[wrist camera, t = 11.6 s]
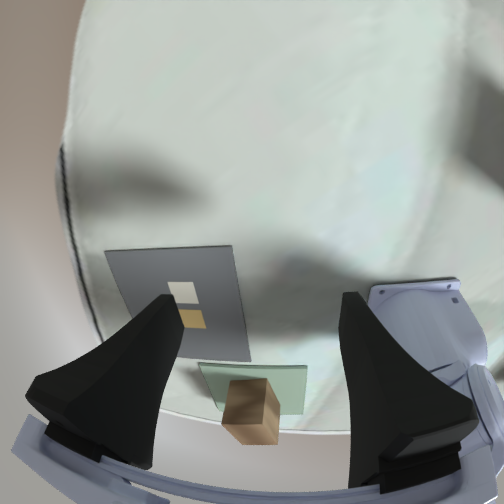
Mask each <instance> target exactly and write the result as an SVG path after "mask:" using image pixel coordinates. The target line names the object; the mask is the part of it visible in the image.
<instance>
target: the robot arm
mask: <svg viewBox="0 0 504 504" xmlns="http://www.w3.org/2000/svg"><path fill="white" fill-rule="evenodd" d="M460 285H461V282H460V280H459V279H453V280H442V281H430V282H418V283H404V284H389V285H376V286H373V287H372V288H371V290H370V294H369V299H368V304H367V303H366V302H365V301H364V299H363V298H362V296H361V295H360V294H359V293H358V292H343V298H342V306H341V313H340V320H339V327H338V329H339V341H340V350H341V355H342V360H343V366H344V371H345V376H346V381H347V387H348V392H349V400H350V420H351V451H350V471H349V483H348V489H342V490H332V491H318V492H262V491H248V490H237V489H229V488H221V487H215V486H209V485H203V484H197V483H192V482H188V481H183V480H179V479H174V478H170V477H166V476H163V475H159V474H155V473H152V472H149V471H145V470H148V469H150V468H151V467H152V460H153V446H154V438H155V430H156V424H157V419H158V413H159V408H160V404H161V400H162V396H163V392H164V389H165V386H166V383H167V380H168V378H169V375H170V372H171V370H172V367H173V365H174V362H175V359H176V357H177V354H178V351H179V349H180V345H181V341H182V337H183V333H184V328H185V327H184V324H183V321H182V318H181V316H180V313H179V310H178V307H177V304H176V301H175V299H174V296H173V294H160V295H159V296H158V297H157V298H156V299H154V300H153V301H152V302H151V303H150V304H149V305H148V306H146V307H145V308H144V309H143V310H142V311H141V312H140V313H139V314H137V315H136V316H135V317H134V318H133V319H132V320H131V321H130V322H128V323H127V324H126V325H125V326H124V327H122V328H121V329H120V330H119V331H118V332H116V333H115V334H114V335H113V336H111V337H110V338H109V339H107V340H106V341H105V342H103V343H102V344H100V345H99V346H98V347H96V348H95V349H93V350H91V351H90V352H88V353H86V354H85V355H83V356H81V357H80V358H78V359H76V360H74V361H72V362H70V363H68V364H66V365H64V366H62V367H59V368H57V369H55V370H52V371H49V372H46V373H44V374H41V375H38V376H36V377H35V379H34V381H33V382H32V384H31V386H30V388H29V389H28V391H27V393H26V395H25V397H26V399H27V400H28V402H29V403H30V404H31V405H32V406H33V407H34V408H35V409H36V410H37V411H39V412H40V413H41V414H42V415H43V416H44V417H45V418H47V419H48V420H49V421H50V422H49V424H48V425H46V424H45V423H43V422H42V421H40V420H39V419H37V418H35V417H34V416H32V415H31V414H29V415H28V416H27V418H26V420H25V422H24V424H23V426H22V428H21V430H20V432H19V434H18V436H17V438H16V441H15V443H14V445H13V447H12V449H11V451H12V453H13V454H15V455H16V456H17V457H18V458H19V459H21V460H22V461H23V462H24V463H25V464H27V465H28V466H29V467H30V468H31V469H32V470H34V471H35V472H36V473H37V474H39V475H40V476H41V477H42V478H43V479H45V480H46V481H47V482H48V483H49V484H51V485H52V486H53V487H55V488H56V489H57V490H59V491H60V492H61V493H63V494H64V495H66V496H67V497H68V498H70V499H71V500H73V501H74V502H76V503H77V504H170V501H169V500H168V499H165V498H162V497H159V496H156V495H154V494H152V493H150V492H148V491H145V490H142V489H140V488H137V487H134V486H132V485H131V483H130V482H129V481H131V482H133V483H137V484H139V485H142V486H145V487H148V488H151V489H155V490H158V491H162V492H165V493H169V494H173V495H177V496H181V497H185V498H190V499H195V500H199V501H204V502H210V503H216V504H496V502H495V498H497V496H498V489H497V482H496V477H497V475H498V474H499V473H500V471H501V470H502V468H503V467H504V401H503V398H502V396H501V393H500V391H499V389H498V386H497V384H496V382H495V380H494V378H493V377H492V375H491V373H490V372H489V370H488V369H487V368H486V367H485V365H486V362H487V354H488V350H487V341H486V337H485V334H484V332H483V330H482V328H481V326H480V324H479V322H478V321H477V319H476V317H475V316H474V314H473V312H472V311H471V309H470V307H469V306H468V304H467V302H466V301H465V299H464V298H463V296H462V295H461V293H460V291H459V288H460ZM381 290H383V291H382V292H380V291H381ZM124 463H125V464H124ZM127 464H128V465H127ZM130 465H131V466H130ZM133 466H134V467H133ZM136 467H137V468H136ZM139 468H140V469H139ZM142 469H143V470H142Z"/></svg>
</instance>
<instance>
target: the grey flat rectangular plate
mask: <svg viewBox="0 0 504 504" xmlns="http://www.w3.org/2000/svg"><path fill="white" fill-rule="evenodd" d="M104 253H105V256H106V258H107V261H108V263H109V266H110V268H111V271H112V273H113V276H114V278H115V281H116V283H117V285H118V288H119V290H120V292H121V295H122V297H123V299H124V301H125V303H126V306H127V308H128V310H129V312H130V314H131V316H132V318H134V317H135V316H136V315H137V314H139V313H140V312H141V311H142V310H143V309H144V308H145V307H146V306H148V305H149V304H150V303H151V302H152V301H153V300H154V299H156V298H157V297H158V296H159V295H160V294H173V296H174V299H175V301H176V304H177V307H178V310H179V313H180V316H181V318H182V321H183V324H184V327H185V328H184V333H183V337H182V341H181V345H180V349H179V351H178V354H177V357H182V358H192V359H204V360H218V361H237V362H251V356H250V351H249V345H248V339H247V334H246V328H245V322H244V316H243V310H242V305H241V299H240V293H239V287H238V281H237V275H236V268H235V262H234V256H233V250H232V246H215V247H190V248H165V249H142V250H119V251H105V252H104Z"/></svg>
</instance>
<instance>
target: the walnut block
mask: <svg viewBox="0 0 504 504" xmlns="http://www.w3.org/2000/svg"><path fill="white" fill-rule="evenodd" d="M279 420H280V403H279V401H278V399H277V397H276V395H275V393H274V391H273V389H272V387H271V385H270V383H269V381H268V379H267V378H263V379H250V380H231V381H230V383H229V388H228V393H227V398H226V403H225V408H224V413H223V418H222V423H221V424H222V426H223V427H225V428H226V429H227V430H228V431H229V432H230V433H231V434H232V435H233V436H234V437H235V438H236V439H237V440H238V441H239V442H240V443H241V444H242V445H277V444H278V433H279Z"/></svg>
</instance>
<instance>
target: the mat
mask: <svg viewBox="0 0 504 504" xmlns="http://www.w3.org/2000/svg"><path fill="white" fill-rule="evenodd" d="M199 366H200V368H201V371H202V373H203V376H204V378H205V380H206V382H207V385H208V387H209V389H210V392H211V394H212V396H213V398H214V400H215V403H216V405H217V407H218V409H219V411H222V412H224V408H225V403H226V398H227V393H228V388H229V383H230V381H231V380H250V379H263V378H267V379H268V381H269V383H270V385H271V387H272V389H273V391H274V393H275V395H276V397H277V399H278V401H279V403H280V415H299V414H303V410H304V401H305V391H306V381H307V369H308V368H307V366H243V365H223V364H208V363H200V365H199Z"/></svg>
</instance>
